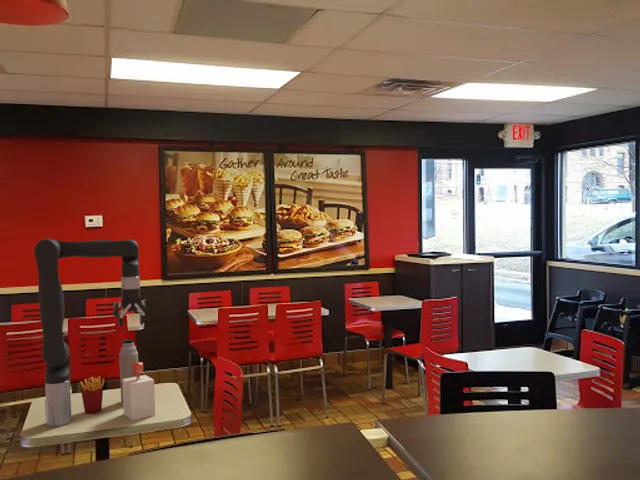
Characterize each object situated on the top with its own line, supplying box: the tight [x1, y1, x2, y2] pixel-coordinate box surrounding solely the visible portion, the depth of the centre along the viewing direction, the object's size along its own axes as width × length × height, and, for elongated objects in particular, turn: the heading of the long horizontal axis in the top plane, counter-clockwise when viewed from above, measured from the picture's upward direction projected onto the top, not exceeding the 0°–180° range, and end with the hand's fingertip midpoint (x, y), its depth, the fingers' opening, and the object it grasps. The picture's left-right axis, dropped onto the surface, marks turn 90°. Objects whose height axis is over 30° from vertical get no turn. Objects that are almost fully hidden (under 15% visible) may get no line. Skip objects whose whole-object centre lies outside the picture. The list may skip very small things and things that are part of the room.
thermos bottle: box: [119, 339, 139, 405], centre depth 270 cm, size 8×8×28 cm
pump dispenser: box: [122, 374, 156, 421], centre depth 253 cm, size 10×10×15 cm
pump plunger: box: [132, 361, 144, 381], centre depth 253 cm, size 4×4×20 cm
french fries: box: [79, 376, 106, 415], centre depth 259 cm, size 9×8×15 cm
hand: (131, 325), depth 252 cm, fingers open, 8 cm apart
